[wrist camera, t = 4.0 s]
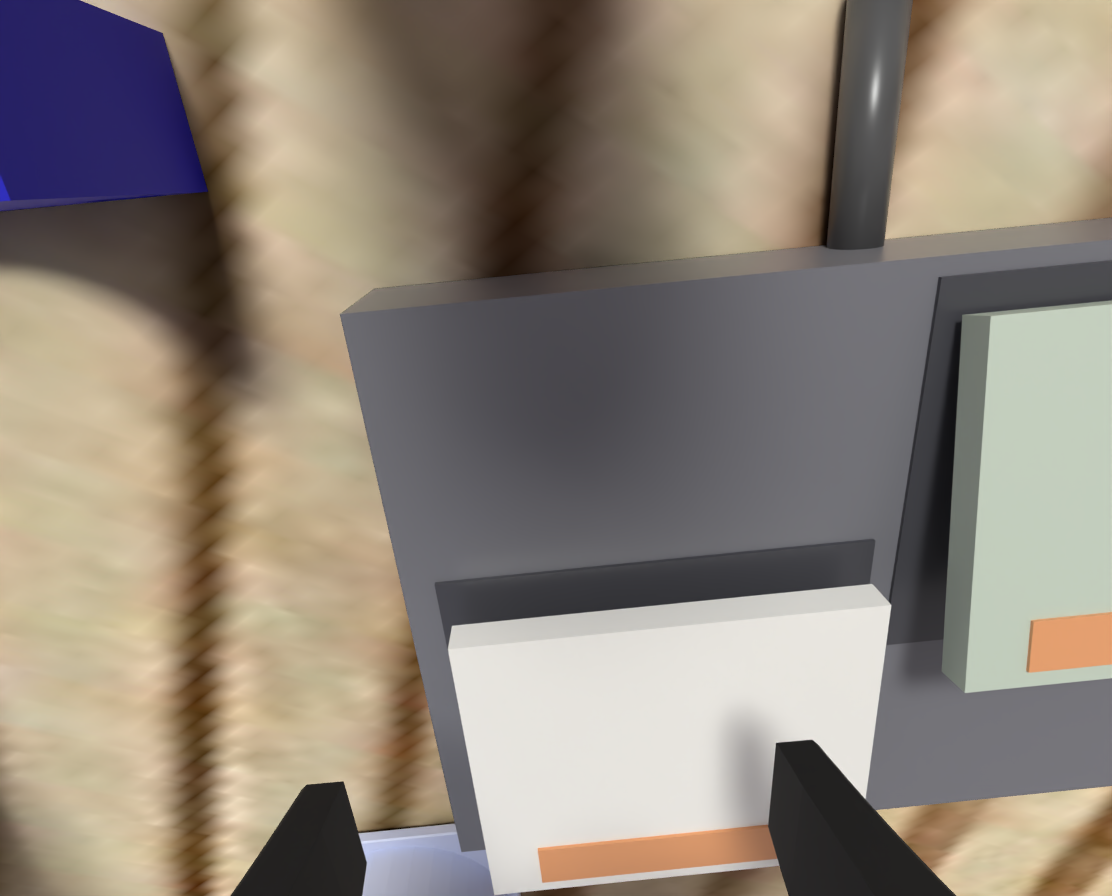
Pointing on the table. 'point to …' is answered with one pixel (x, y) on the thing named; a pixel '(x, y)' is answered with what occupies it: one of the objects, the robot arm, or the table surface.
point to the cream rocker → (658, 729)
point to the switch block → (726, 447)
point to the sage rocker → (1031, 500)
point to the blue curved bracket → (88, 109)
